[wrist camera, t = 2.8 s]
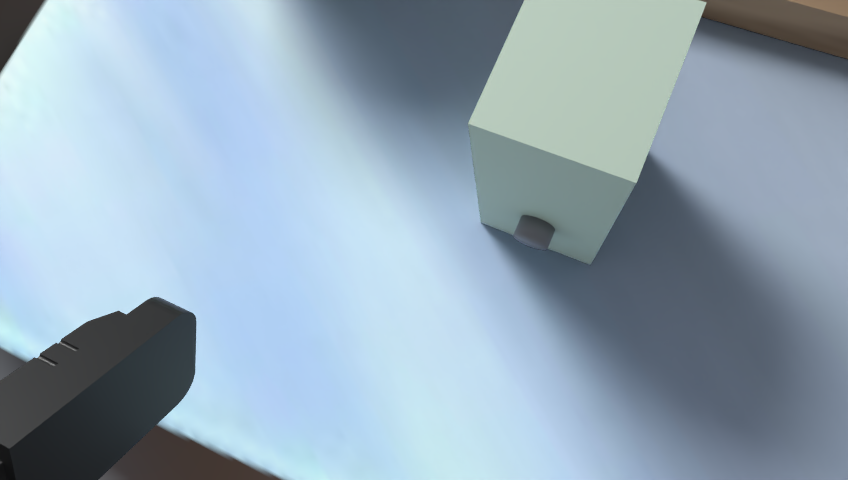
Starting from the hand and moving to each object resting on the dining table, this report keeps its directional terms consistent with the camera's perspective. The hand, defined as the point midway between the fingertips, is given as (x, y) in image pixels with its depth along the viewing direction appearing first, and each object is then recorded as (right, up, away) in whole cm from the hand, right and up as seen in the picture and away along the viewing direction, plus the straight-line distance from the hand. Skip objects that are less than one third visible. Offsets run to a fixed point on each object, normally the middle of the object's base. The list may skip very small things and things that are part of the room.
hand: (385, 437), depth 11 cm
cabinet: (+7, +6, +17) cm, 19 cm away
